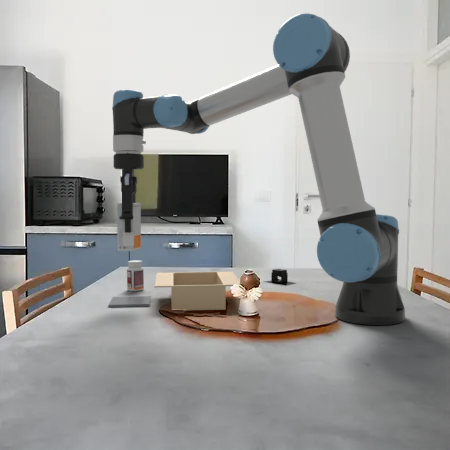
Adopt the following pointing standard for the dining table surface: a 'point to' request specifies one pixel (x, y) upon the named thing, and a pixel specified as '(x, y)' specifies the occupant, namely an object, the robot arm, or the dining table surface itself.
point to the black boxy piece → (280, 273)
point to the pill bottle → (135, 276)
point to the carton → (197, 289)
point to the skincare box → (136, 228)
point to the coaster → (130, 301)
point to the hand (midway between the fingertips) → (129, 244)
